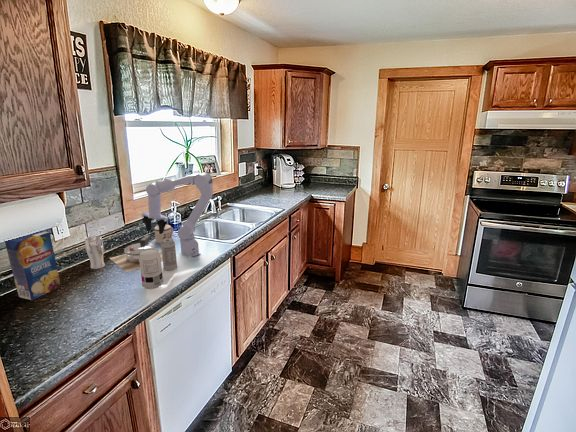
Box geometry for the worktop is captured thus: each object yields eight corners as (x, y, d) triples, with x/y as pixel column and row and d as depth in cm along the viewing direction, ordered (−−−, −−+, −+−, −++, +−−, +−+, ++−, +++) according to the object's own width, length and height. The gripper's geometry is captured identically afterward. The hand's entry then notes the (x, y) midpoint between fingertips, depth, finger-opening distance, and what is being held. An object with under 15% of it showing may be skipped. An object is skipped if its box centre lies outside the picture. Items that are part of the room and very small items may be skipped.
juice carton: (31, 300, 127) (18, 242, 121) (18, 297, 130) (4, 239, 123) (61, 286, 138) (50, 232, 131) (48, 283, 140) (36, 230, 134)
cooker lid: (148, 255, 156) (147, 248, 155) (119, 255, 156) (118, 248, 155) (162, 241, 174) (161, 234, 173) (136, 240, 174) (135, 234, 173)
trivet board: (172, 260, 164) (172, 258, 164) (126, 274, 149) (126, 272, 149) (152, 248, 179) (152, 246, 179) (109, 260, 164) (109, 258, 164)
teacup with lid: (164, 246, 182) (162, 226, 179) (152, 243, 186) (149, 223, 183) (179, 239, 193) (177, 220, 189) (167, 237, 196) (165, 218, 193)
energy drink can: (176, 266, 157) (173, 236, 153) (178, 271, 152) (175, 241, 148) (163, 268, 155) (160, 238, 151) (164, 273, 150) (160, 243, 146)
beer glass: (86, 269, 153) (80, 239, 149) (99, 263, 159) (94, 234, 155) (96, 272, 151) (91, 241, 147) (109, 266, 157) (105, 236, 153)
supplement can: (138, 287, 138) (133, 254, 133) (152, 278, 145) (148, 247, 141) (153, 291, 135) (149, 257, 131) (167, 282, 142) (164, 249, 138)
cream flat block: (159, 261, 161) (158, 252, 159) (130, 267, 153) (129, 258, 152) (149, 248, 176) (148, 240, 174) (122, 254, 168) (121, 246, 167)
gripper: (136, 205, 164) (137, 231, 168) (161, 210, 160) (161, 237, 164) (146, 203, 171) (147, 227, 175) (170, 207, 167) (170, 232, 171)
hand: (155, 232), depth 170 cm, fingers open, 7 cm apart
